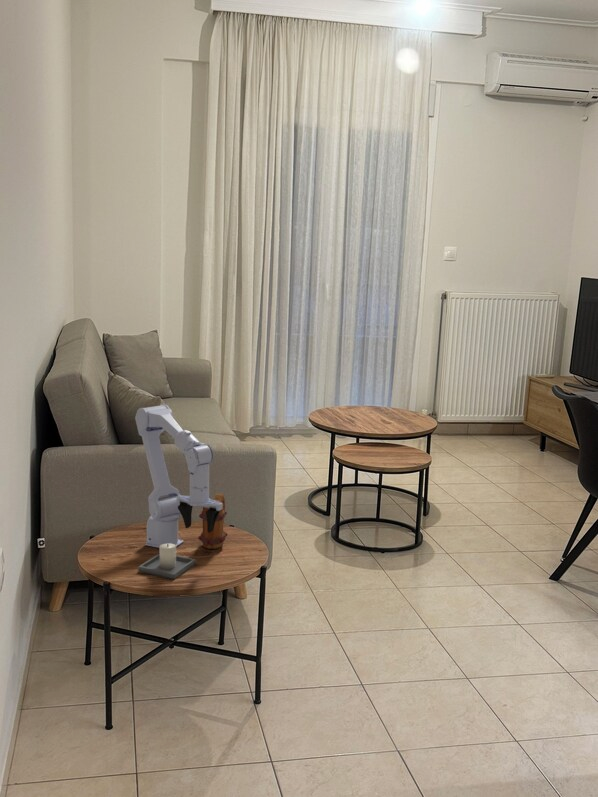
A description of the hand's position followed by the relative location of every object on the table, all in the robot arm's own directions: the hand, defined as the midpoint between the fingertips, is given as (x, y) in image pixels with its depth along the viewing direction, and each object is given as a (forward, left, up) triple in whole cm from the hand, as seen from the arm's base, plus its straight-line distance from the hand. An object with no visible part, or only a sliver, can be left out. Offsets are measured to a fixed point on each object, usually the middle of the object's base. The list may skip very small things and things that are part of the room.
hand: (199, 529), depth 239 cm
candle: (-6, -8, -10) cm, 14 cm away
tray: (-6, -8, -10) cm, 14 cm away
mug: (-3, +15, -11) cm, 19 cm away
